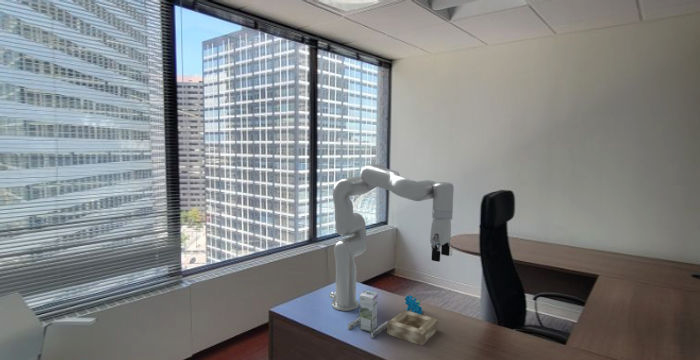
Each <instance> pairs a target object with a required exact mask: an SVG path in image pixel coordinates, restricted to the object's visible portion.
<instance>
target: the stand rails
mask: <svg viewBox="0 0 700 360" xmlns="http://www.w3.org/2000/svg"><path fill="white" fill-rule="evenodd" d="M359 321H360V316H359V317H356V318H355V319H354V320H352V321H351V322H349V323H348V324H347V330H348V331H351V330H353V328H355V327H356V326H358V325H359ZM388 322H389V321H385V322H383V323H382V324H381V325H379V326H377V327H376V328H375V329H374V330H373V331H372V332H370V338H371V339H374V338H376V337H377V336H378V335H380V334H381V333H382V332H384V331H385V330H387V323H388Z"/></svg>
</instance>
